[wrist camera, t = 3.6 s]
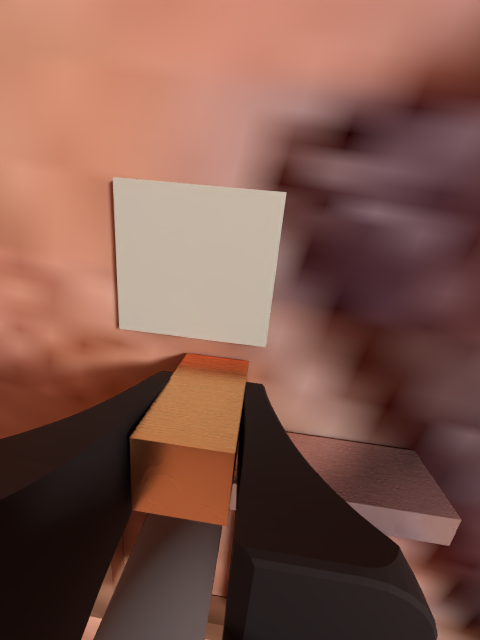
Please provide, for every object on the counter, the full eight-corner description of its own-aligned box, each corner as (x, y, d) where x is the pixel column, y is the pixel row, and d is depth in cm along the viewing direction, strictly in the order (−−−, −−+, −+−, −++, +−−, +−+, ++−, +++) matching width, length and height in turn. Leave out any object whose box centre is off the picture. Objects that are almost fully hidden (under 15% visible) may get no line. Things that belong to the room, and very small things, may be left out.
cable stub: (219, 554, 15) (189, 749, 9) (148, 541, 15) (77, 724, 10) (224, 499, 14) (194, 686, 8) (148, 487, 14) (66, 659, 8)
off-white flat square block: (265, 344, 11) (265, 347, 11) (122, 326, 11) (119, 328, 11) (285, 193, 9) (286, 192, 9) (117, 178, 10) (112, 177, 9)
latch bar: (406, 472, 12) (496, 626, 7) (183, 439, 13) (133, 560, 8) (437, 385, 11) (572, 505, 6) (187, 353, 11) (129, 437, 7)
